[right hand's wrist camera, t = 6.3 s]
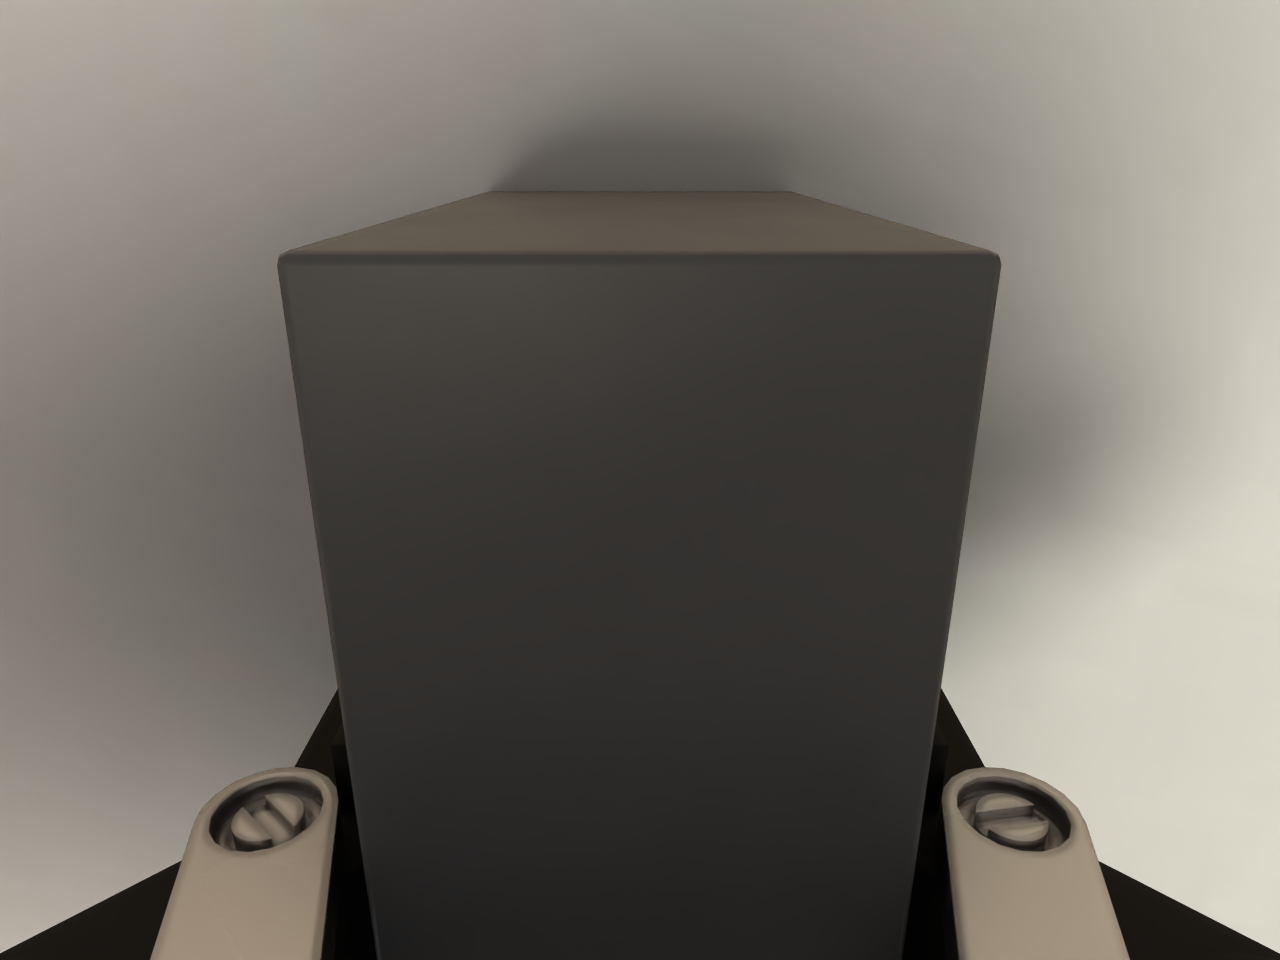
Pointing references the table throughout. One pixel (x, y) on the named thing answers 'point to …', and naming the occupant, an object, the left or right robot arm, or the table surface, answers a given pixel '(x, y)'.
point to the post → (639, 563)
